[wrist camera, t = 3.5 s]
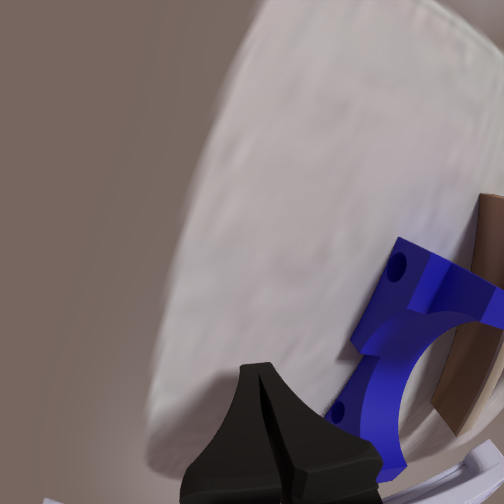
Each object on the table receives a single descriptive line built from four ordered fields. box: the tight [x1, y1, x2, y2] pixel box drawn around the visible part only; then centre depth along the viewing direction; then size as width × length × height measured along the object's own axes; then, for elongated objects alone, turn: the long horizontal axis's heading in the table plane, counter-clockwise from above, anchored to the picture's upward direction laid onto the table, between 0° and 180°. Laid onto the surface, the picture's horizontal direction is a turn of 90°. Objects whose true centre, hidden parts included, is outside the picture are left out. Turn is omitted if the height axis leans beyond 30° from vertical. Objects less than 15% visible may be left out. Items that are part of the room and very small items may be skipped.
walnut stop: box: [431, 193, 504, 437], centre depth 14 cm, size 2×16×4 cm, turn 3°
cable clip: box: [324, 237, 504, 483], centre depth 13 cm, size 12×4×6 cm, turn 161°
